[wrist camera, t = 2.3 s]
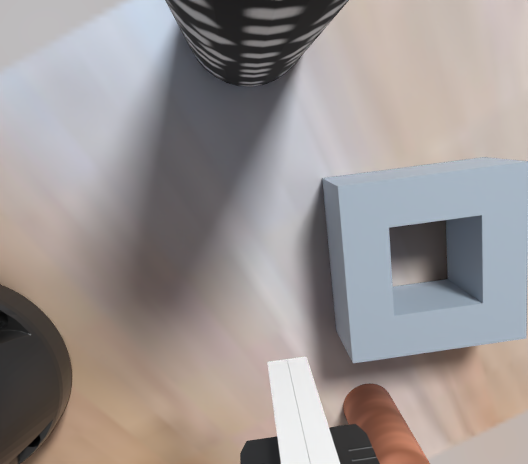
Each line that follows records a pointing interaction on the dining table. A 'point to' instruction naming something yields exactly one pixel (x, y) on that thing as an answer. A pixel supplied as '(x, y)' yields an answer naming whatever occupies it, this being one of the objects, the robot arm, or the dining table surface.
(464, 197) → the socket block
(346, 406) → the dowel
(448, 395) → the dining table surface
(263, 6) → the white-spotted black cylinder
